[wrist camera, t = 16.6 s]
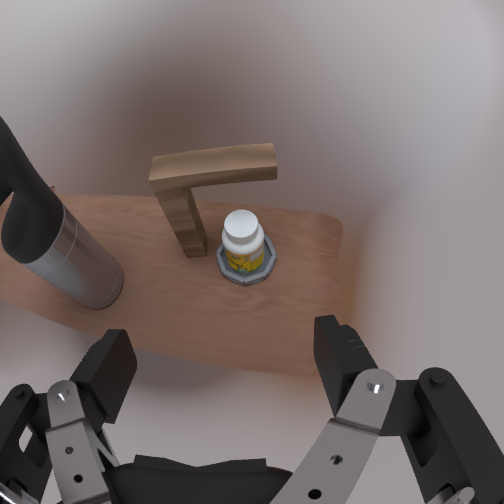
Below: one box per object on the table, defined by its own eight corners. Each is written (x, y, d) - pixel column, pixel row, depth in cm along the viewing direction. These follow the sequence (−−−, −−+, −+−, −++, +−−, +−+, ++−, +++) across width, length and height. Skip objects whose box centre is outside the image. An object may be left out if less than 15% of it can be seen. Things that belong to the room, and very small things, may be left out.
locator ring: (208, 271, 42) (206, 267, 40) (234, 226, 45) (233, 221, 44) (260, 293, 40) (260, 290, 38) (283, 245, 43) (284, 241, 42)
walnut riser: (272, 250, 43) (277, 166, 27) (187, 257, 43) (148, 180, 27) (269, 230, 44) (272, 143, 28) (188, 237, 44) (153, 157, 28)
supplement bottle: (271, 258, 42) (273, 223, 33) (244, 282, 40) (239, 252, 31) (246, 235, 43) (243, 197, 35) (220, 257, 42) (209, 222, 33)
